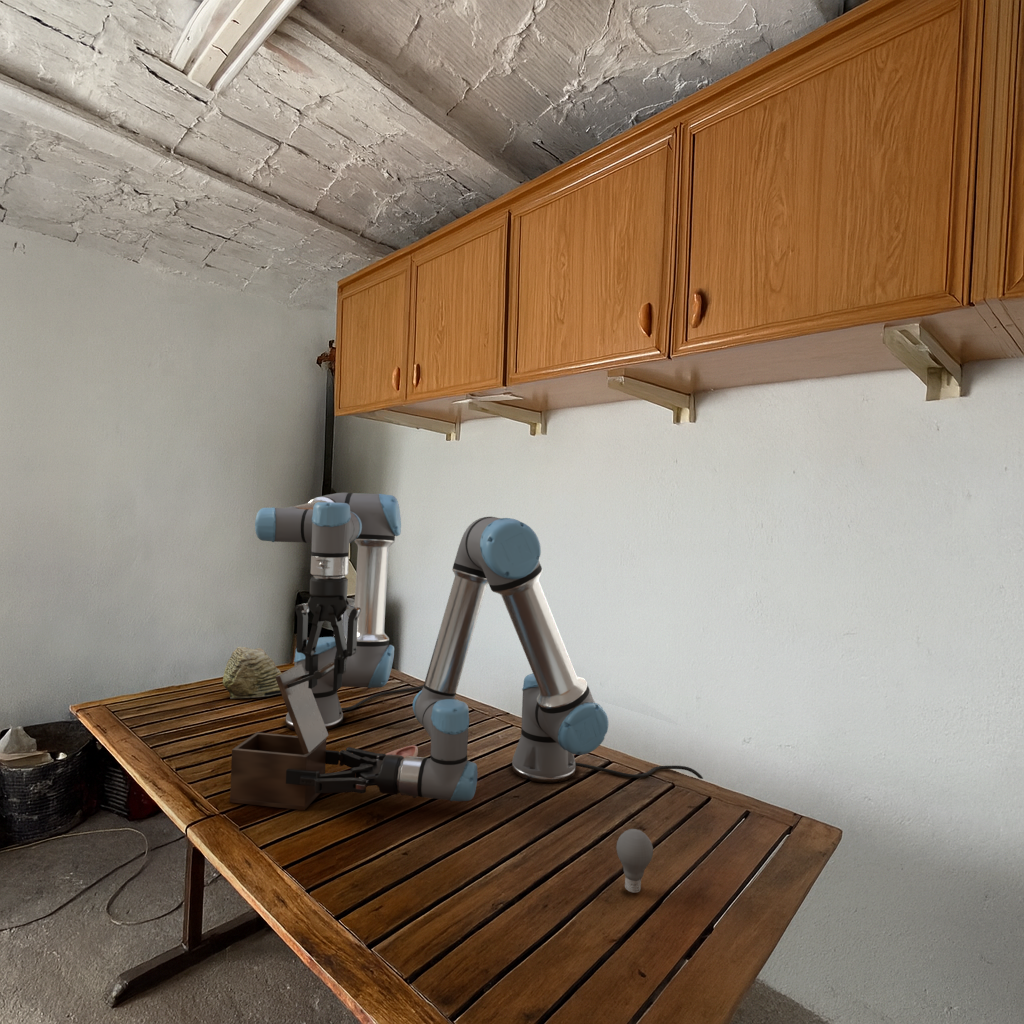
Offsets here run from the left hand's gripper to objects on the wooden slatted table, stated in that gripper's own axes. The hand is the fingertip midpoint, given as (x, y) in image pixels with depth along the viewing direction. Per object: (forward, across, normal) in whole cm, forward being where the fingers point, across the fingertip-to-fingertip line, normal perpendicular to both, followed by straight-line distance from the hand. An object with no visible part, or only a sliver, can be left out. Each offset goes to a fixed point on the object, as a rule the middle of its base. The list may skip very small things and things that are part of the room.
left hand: (325, 687), depth 132 cm
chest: (+24, -9, 0) cm, 25 cm away
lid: (+5, -5, 0) cm, 7 cm away
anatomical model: (+24, +9, +18) cm, 31 cm away
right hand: (+17, -5, 0) cm, 18 cm away
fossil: (+24, -48, +60) cm, 81 cm away
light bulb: (+24, +63, -20) cm, 70 cm away
